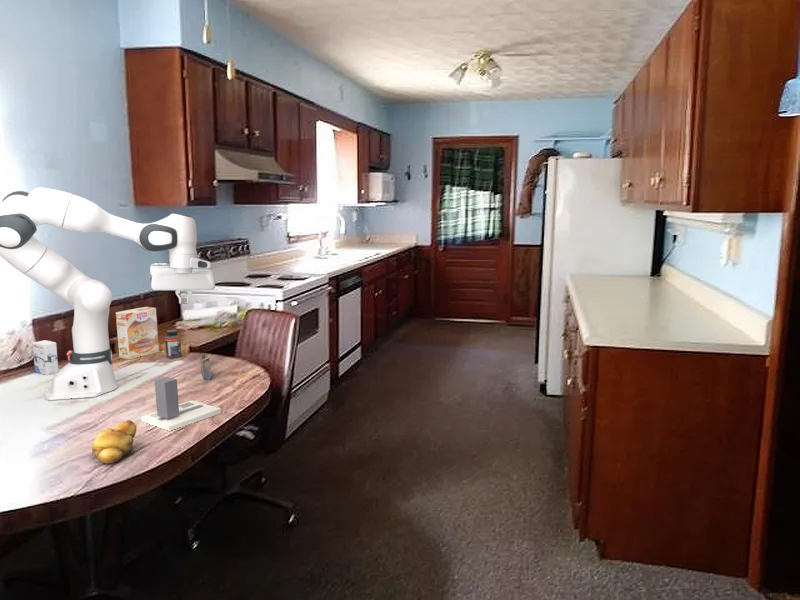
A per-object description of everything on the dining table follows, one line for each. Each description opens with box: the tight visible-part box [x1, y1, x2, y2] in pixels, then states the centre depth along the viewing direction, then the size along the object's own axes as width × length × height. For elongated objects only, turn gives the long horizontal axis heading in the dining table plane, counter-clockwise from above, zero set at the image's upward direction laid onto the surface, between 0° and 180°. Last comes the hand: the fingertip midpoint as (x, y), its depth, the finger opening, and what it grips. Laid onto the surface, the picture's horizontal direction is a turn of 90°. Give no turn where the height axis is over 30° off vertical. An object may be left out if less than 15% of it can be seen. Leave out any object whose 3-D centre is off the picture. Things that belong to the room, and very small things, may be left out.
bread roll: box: [90, 419, 137, 464], centre depth 156 cm, size 13×10×8 cm
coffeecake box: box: [115, 306, 160, 360], centre depth 256 cm, size 15×7×20 cm, turn 151°
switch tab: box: [154, 376, 180, 419], centre depth 179 cm, size 4×5×11 cm
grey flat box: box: [199, 353, 212, 381], centre depth 226 cm, size 11×3×10 cm, turn 23°
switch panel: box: [140, 399, 222, 432], centre depth 184 cm, size 18×14×2 cm
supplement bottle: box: [164, 329, 182, 359], centre depth 253 cm, size 6×6×11 cm
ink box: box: [32, 339, 59, 376], centre depth 232 cm, size 9×5×12 cm, turn 58°
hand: (183, 303), depth 205 cm, fingers closed
